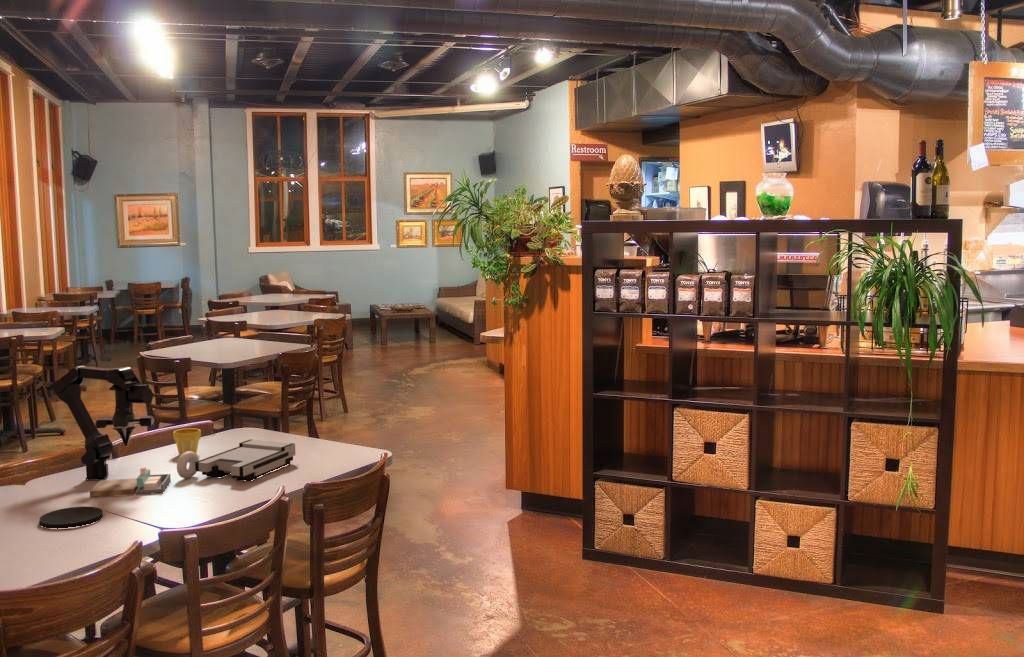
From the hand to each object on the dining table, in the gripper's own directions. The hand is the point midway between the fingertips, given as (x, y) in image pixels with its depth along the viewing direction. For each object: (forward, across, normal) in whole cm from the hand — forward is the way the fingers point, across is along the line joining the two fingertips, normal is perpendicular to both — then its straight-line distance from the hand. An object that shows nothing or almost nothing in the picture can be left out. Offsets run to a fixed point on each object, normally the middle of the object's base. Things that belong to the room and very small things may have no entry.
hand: (126, 445), depth 323 cm
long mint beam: (+11, +8, -12) cm, 18 cm away
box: (+13, +11, -12) cm, 21 cm away
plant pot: (+13, +15, +36) cm, 41 cm away
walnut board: (+13, -1, -12) cm, 18 cm away
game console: (+14, +41, +4) cm, 44 cm away
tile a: (+12, +11, -14) cm, 22 cm away
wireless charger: (+14, -7, -44) cm, 47 cm away
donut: (+13, +21, -1) cm, 25 cm away
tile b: (+12, +11, -10) cm, 19 cm away
